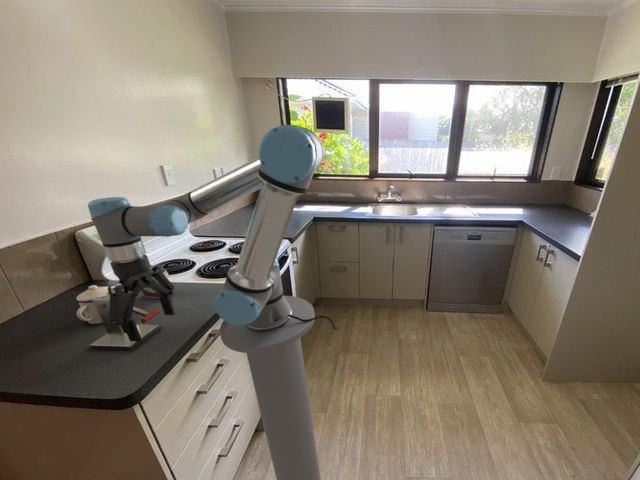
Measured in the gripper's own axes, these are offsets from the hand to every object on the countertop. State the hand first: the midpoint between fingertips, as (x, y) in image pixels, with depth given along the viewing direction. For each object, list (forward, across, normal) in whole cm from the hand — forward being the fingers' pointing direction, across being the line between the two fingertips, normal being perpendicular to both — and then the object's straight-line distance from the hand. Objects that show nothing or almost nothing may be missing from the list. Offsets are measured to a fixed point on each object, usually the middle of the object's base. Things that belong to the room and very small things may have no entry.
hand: (154, 326), depth 83 cm
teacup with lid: (+5, -9, -27) cm, 29 cm away
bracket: (+5, 0, -10) cm, 11 cm away
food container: (+5, -26, -20) cm, 33 cm away
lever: (-5, 0, -6) cm, 8 cm away
